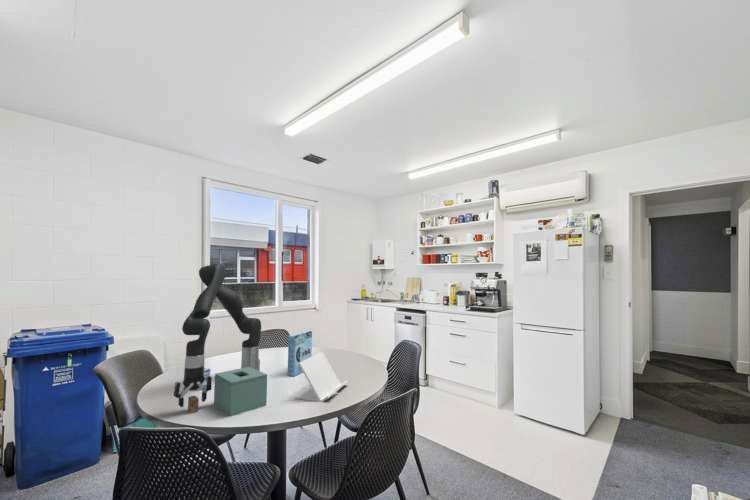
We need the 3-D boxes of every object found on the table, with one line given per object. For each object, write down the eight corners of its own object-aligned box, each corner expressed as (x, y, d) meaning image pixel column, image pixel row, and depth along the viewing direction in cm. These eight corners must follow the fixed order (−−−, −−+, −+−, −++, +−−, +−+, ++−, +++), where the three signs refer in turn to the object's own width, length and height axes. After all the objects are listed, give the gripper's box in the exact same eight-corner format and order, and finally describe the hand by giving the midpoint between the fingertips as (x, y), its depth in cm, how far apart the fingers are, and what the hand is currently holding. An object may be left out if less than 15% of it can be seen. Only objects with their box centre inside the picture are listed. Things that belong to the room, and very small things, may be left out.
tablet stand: (293, 398, 158) (294, 362, 159) (317, 382, 182) (317, 350, 183) (328, 403, 153) (329, 365, 154) (348, 385, 177) (348, 353, 178)
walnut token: (194, 408, 146) (194, 395, 146) (198, 411, 142) (198, 398, 143) (187, 409, 144) (188, 396, 144) (191, 413, 140) (192, 399, 141)
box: (248, 395, 162) (249, 366, 163) (266, 405, 149) (267, 374, 150) (213, 404, 150) (215, 373, 151) (230, 416, 138) (231, 382, 139)
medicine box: (199, 390, 168) (200, 372, 169) (191, 389, 169) (192, 372, 170) (210, 385, 176) (210, 368, 176) (202, 384, 177) (203, 368, 177)
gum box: (294, 376, 191) (295, 336, 193) (286, 375, 193) (287, 335, 195) (311, 368, 210) (312, 331, 211) (304, 367, 211) (305, 330, 213)
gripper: (208, 360, 152) (206, 397, 151) (173, 366, 142) (171, 406, 141) (214, 364, 147) (213, 401, 146) (178, 370, 137) (176, 411, 135)
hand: (192, 403), depth 143 cm, fingers open, 8 cm apart
